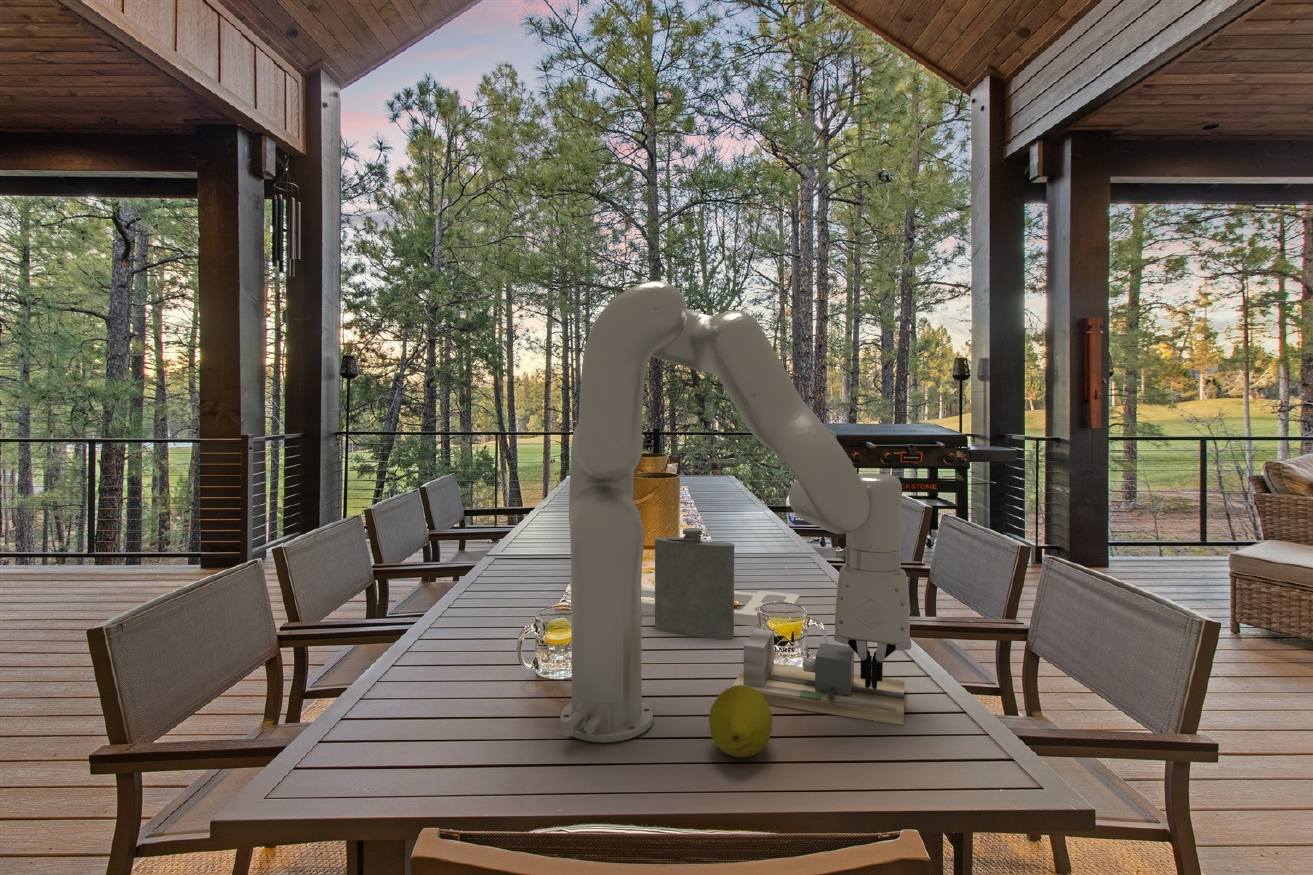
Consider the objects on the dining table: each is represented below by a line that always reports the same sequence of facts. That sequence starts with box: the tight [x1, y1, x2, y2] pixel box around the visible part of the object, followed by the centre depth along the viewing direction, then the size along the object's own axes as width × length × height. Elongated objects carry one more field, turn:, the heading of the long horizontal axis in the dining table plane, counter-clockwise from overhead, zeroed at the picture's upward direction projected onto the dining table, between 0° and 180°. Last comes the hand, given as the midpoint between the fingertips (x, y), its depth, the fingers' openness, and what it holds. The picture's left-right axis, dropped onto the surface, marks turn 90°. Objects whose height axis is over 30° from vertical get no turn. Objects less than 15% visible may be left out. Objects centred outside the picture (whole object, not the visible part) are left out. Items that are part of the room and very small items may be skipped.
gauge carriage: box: [802, 642, 855, 700], centre depth 99 cm, size 9×7×5 cm
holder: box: [641, 586, 801, 628], centre depth 148 cm, size 45×18×3 cm, turn 68°
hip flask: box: [654, 527, 735, 641], centre depth 129 cm, size 16×4×20 cm, turn 65°
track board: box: [731, 628, 906, 726], centre depth 101 cm, size 12×24×8 cm, turn 69°
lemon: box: [708, 685, 773, 758], centre depth 84 cm, size 11×8×8 cm
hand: (871, 684), depth 99 cm, fingers closed
